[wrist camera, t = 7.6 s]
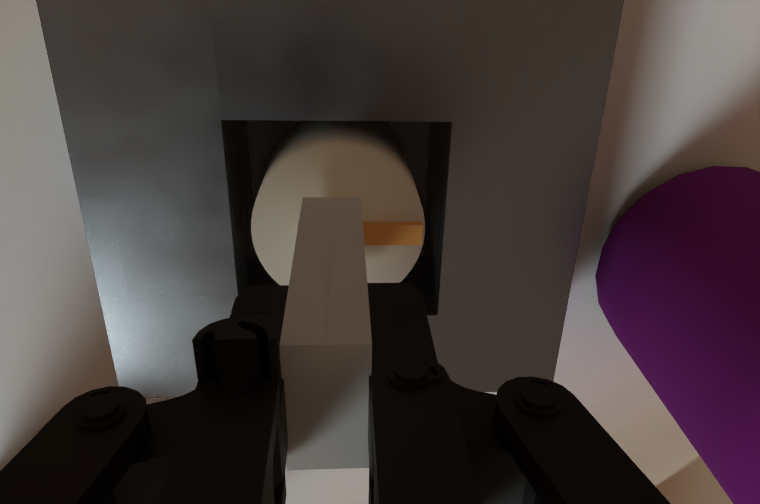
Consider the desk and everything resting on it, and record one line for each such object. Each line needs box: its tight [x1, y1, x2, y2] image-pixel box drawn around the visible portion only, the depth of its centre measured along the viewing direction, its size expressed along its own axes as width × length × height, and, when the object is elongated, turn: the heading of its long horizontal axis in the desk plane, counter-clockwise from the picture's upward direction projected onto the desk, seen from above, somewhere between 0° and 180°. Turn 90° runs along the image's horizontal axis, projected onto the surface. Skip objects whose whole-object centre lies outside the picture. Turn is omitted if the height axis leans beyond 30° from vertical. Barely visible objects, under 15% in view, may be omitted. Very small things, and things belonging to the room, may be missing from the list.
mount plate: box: [36, 0, 624, 397], centre depth 17 cm, size 14×22×4 cm, turn 179°
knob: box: [251, 121, 425, 285], centre depth 18 cm, size 5×5×4 cm
